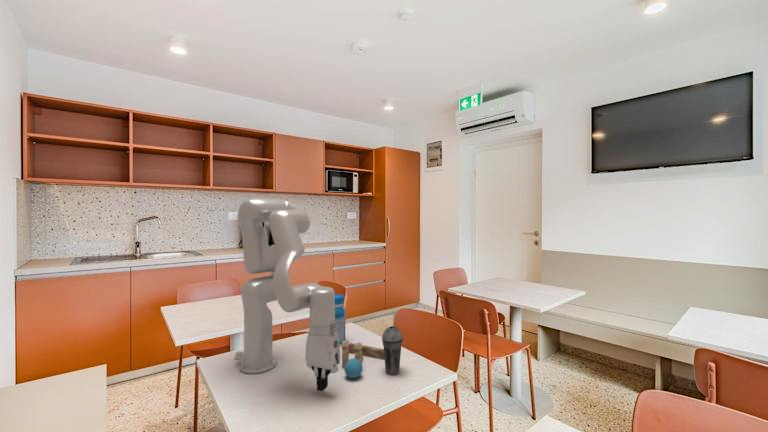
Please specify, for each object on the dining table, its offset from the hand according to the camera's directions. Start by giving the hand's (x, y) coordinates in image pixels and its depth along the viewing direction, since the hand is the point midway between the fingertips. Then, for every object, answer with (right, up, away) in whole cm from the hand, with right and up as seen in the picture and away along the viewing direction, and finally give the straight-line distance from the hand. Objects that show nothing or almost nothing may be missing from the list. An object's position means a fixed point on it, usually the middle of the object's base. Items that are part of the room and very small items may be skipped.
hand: (322, 388), depth 101 cm
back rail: (+12, -1, +28) cm, 30 cm away
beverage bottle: (-2, -2, +40) cm, 40 cm away
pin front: (+6, 0, +14) cm, 15 cm away
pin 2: (+10, -1, +16) cm, 19 cm away
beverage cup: (+22, -2, +14) cm, 26 cm away
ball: (+9, +1, +10) cm, 14 cm away
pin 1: (+5, -1, +18) cm, 19 cm away
